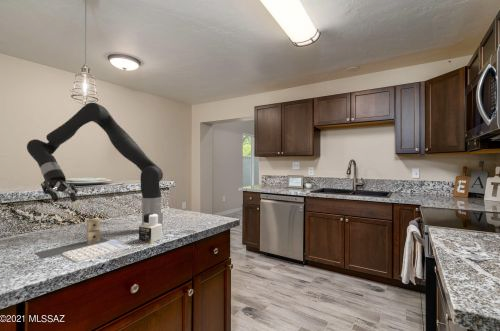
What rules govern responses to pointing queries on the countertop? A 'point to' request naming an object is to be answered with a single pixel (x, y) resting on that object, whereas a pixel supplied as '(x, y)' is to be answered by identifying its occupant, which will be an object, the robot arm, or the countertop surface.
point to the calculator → (94, 250)
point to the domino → (93, 230)
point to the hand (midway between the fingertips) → (66, 200)
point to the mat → (66, 248)
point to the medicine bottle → (150, 229)
